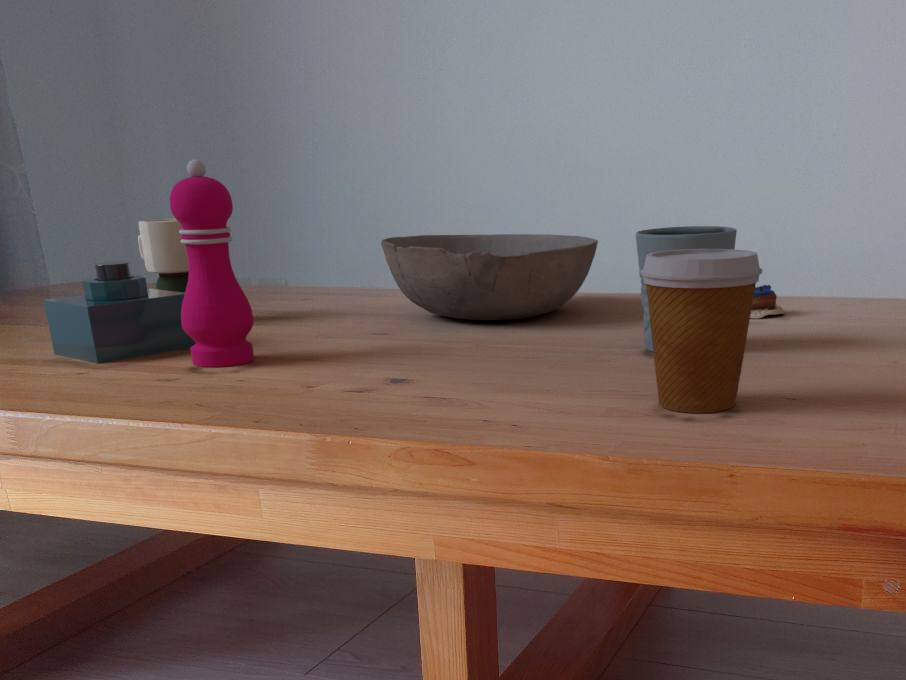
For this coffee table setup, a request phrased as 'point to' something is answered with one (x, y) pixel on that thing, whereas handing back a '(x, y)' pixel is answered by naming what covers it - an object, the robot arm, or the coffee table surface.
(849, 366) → the coffee table surface
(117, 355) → the blue-grey boxy piece
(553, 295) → the bowl
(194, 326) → the pepper mill
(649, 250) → the grey cup
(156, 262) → the character mug
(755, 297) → the dessert
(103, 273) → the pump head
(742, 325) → the disposable coffee cup
